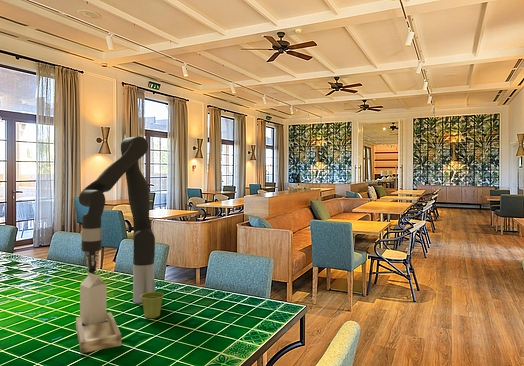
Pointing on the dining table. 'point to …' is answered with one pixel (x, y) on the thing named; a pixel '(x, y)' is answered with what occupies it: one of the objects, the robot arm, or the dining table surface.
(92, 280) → the milk carton
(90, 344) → the u rest
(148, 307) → the plant pot
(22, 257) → the dining table surface
